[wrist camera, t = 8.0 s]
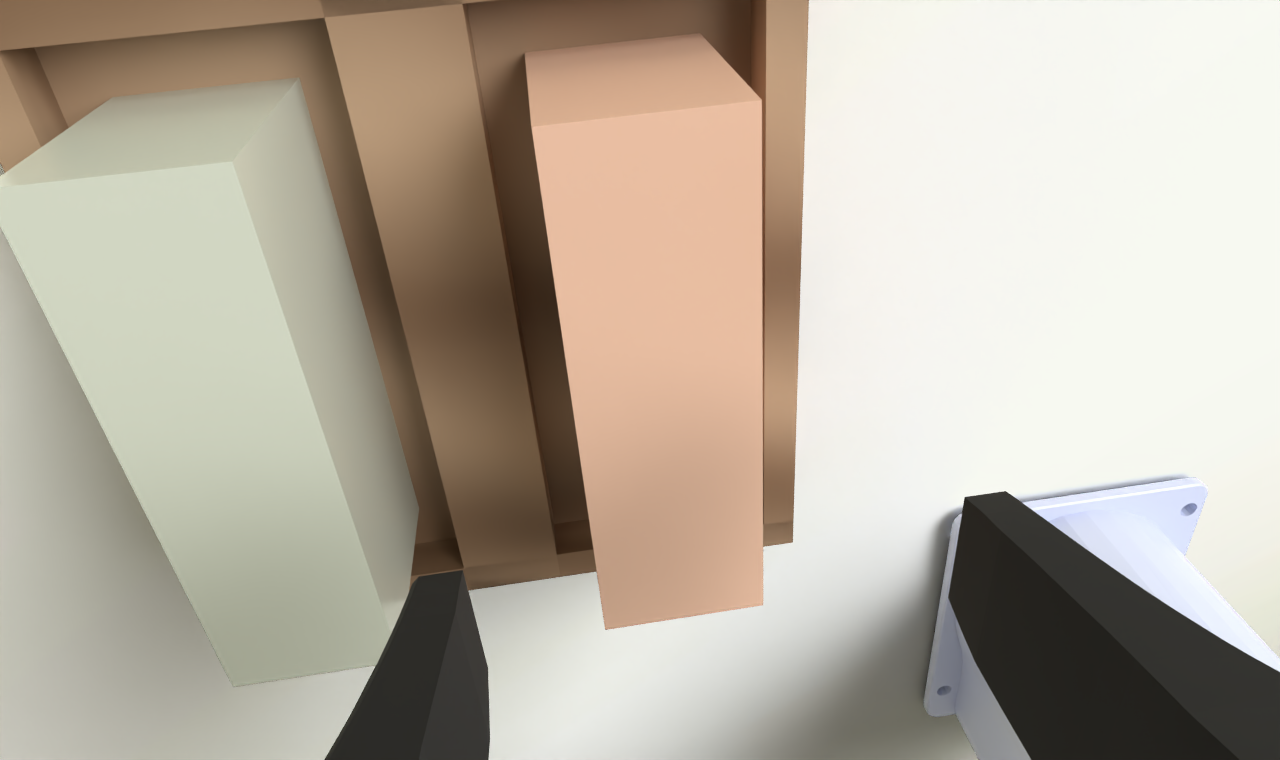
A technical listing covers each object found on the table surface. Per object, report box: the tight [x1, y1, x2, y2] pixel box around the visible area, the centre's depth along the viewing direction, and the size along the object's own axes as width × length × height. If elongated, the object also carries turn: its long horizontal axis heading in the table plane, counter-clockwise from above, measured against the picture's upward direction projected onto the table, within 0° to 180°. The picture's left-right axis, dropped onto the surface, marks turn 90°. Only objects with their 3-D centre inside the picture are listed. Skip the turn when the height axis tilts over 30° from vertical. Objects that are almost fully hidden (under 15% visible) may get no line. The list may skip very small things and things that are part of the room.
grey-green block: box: [0, 77, 419, 687], centre depth 18 cm, size 11×4×5 cm, turn 4°
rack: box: [0, 0, 809, 591], centre depth 20 cm, size 15×15×2 cm
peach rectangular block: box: [525, 33, 763, 630], centre depth 18 cm, size 11×4×5 cm, turn 5°
